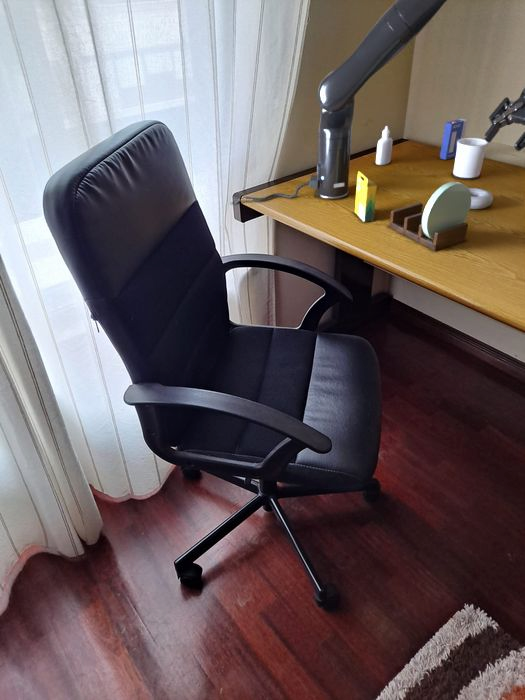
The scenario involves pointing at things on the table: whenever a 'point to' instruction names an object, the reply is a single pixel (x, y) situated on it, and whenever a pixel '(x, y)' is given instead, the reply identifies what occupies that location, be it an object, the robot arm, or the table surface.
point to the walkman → (452, 137)
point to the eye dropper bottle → (384, 148)
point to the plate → (446, 208)
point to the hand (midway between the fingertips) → (501, 144)
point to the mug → (469, 158)
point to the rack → (413, 223)
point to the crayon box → (365, 198)
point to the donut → (480, 198)
